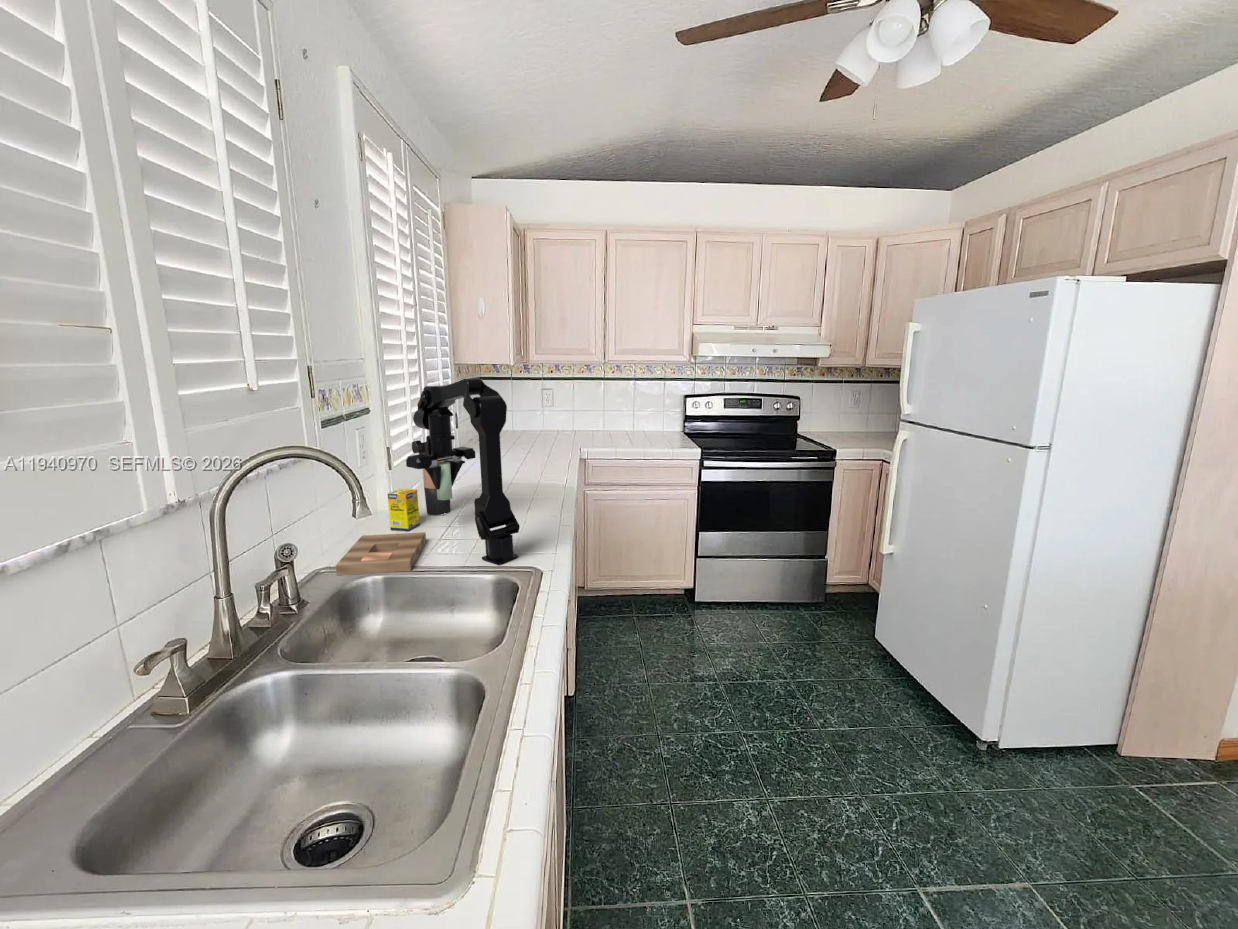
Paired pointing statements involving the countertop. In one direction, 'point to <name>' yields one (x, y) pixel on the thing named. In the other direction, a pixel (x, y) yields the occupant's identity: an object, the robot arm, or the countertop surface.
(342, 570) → the hole plate
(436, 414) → the robot arm
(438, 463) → the peg
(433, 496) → the travel mug
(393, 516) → the supplement box
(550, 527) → the countertop surface
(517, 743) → the countertop surface
